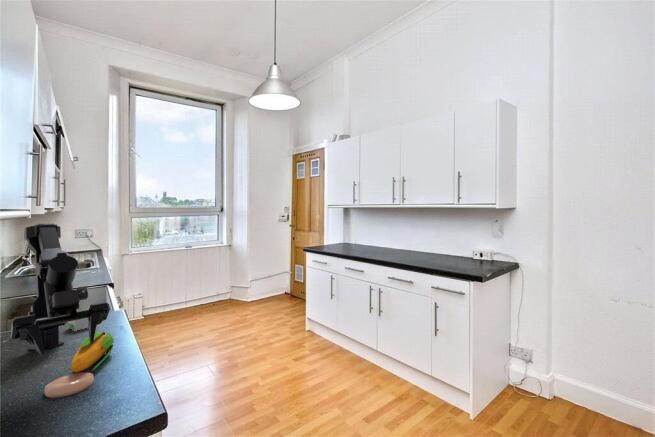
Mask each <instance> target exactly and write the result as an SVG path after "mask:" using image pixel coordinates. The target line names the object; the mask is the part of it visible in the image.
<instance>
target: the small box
mask: <svg viewBox="0 0 655 437" xmlns="http://www.w3.org/2000/svg"><path fill="white" fill-rule="evenodd" d="M88 323H89V321H88V318H84V319H79V320H74V321H69V322H68V329H69V328H70V329H72V330H71V331H73V330H74V331H73V332H75V331H76V332H78V331H77V330H80V329H83V330H85V329H84V328H87V329H88ZM70 329H69V330H70ZM80 331H81V330H80Z"/></svg>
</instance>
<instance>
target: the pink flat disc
mask: <svg viewBox="0 0 655 437" xmlns="http://www.w3.org/2000/svg"><path fill="white" fill-rule="evenodd" d="M94 376H95V375H94V374H93V373H91V372H77V373H75V372H74V373H71V374H67V375H65V376H64V375H63V376H61V377H59V378H56V379H54V380H53V381H51V382H49V383H48V384H46V385H45V387H44V396H45V397H47V398H50V399H53V398H55V399H58V398H63V397H68V396H72V395H75V394H77V393H80V392H82V391H85V390H86V389H88V388H89V387H91V386H92V385H93V383H94Z"/></svg>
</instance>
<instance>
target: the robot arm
mask: <svg viewBox="0 0 655 437" xmlns="http://www.w3.org/2000/svg"><path fill="white" fill-rule="evenodd" d="M23 237H24V238H23V239H24V241H27V242H26V243H27V248H28V249H29V250H30V251H31V252H32V253H34V266H35V267H34V268H35V284H36V299H35V300H34V302H33V304H32V305H31V307H30V311H28V314H27V315H21V316H16V317H14V318H13V319H12V320H11V328H10V336H11V340H18V339H19V341H20V342H23V341H25V342H26V343H28V344H29V345H30V346H29V347H27V350H30V351H34V352H37V353H38V354H39V355H40V356H41V357H42V358H43V357H44V356H45V351H47V350H51V349H53V348H56V347H60V346H61V345H65V341H61V340H60V331H59V327H62V326H65V325H67V322H68V323H69V321H74V320H79V319H84V318H88V321H89V323H88V328H87V329H88V337H89V341H90V344H93V341H94V336H95V333H96V331H97V330H96V329H97V326H98V325H101V324H102V323H103V322H104V321H106V320H107V318H108V317H109V314H110V311H111V307H110V304H109V303H108V302H106V301H103V302H97V303H91V304H90V305H89V309H88V310H81V311H78V310H79V308H80V302H81V301H83V300H84V301H85V300H88V298H89V292H88V287H87V286H84V285H83V286H79V287H77V288H76V289H74V286H73V282H74V281H75V279H76V274H77V270H79V261H78V260H77V259H76V258H75V257H74V256H71V255H70V254H69V253H68V252H67V251H64V250H62V246H61V243H60V239H61V238H62V233H61V226H59V225H58V224H57V223H56V224H55V223H52V222H51V223H49V222H48V223H37V224H34V225H29V226H27V227H25V229H24V230H23Z"/></svg>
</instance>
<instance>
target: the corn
mask: <svg viewBox="0 0 655 437" xmlns="http://www.w3.org/2000/svg"><path fill="white" fill-rule="evenodd" d="M114 343H115V341H114V337H113V335H112V334H111V333H109V332H108V333H107V334H106V332H102V331H97V332H96V331H95V336H94V341H93V344H90V341H89V336H87V337H85V338H84V339H83V340H82V341H81V343H80V345H79V348H78V350H77V351H76V353H75V354H74V355H73V357H72V358H71V364H70V367H69V371H71V372H73V373H74V374H75V373H80V372H81V371H83V370H86V369H89V368H90V367H91V366H92V365H94V364H95V363H97V361H98V360H100V359H101V358H102V357H103V356H104V357H103V358H102V359H101V360H100V361H99V362H98V363H97V364H96V365H95V366H94V367H93V369H92V370H91V372H93V371H95V369H97V368H98V367H99V366H100V365H101V364H102V363H103V361H105V360H106V358H108V357H109V355H110V354H111V352H112V350H113V347H114V345H113V344H114Z"/></svg>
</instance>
